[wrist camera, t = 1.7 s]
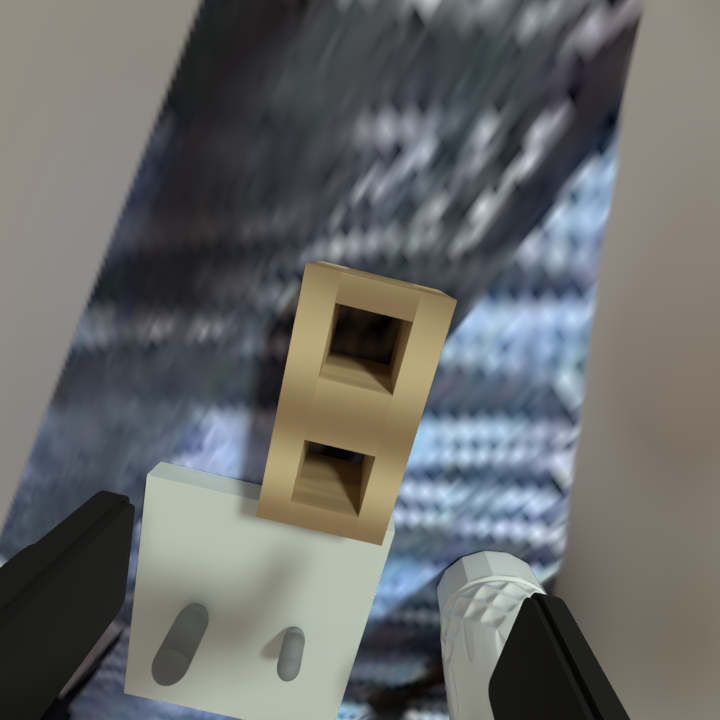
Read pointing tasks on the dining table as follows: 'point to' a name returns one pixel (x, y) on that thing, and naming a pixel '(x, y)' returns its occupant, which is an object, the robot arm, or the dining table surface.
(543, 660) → the robot arm
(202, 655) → the post board
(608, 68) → the dining table surface
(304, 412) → the tan hollow block
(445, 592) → the white cup
